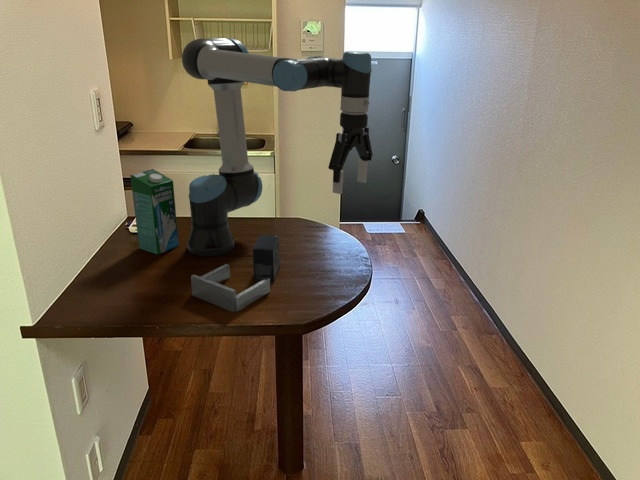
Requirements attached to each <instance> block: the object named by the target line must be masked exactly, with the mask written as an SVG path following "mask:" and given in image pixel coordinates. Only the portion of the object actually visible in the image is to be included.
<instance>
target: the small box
mask: <svg viewBox="0 0 640 480" xmlns="http://www.w3.org/2000/svg"><path fill="white" fill-rule="evenodd" d="M280 259H281V258H280V236H279V235H272V234H271V235H268V234H267V235H265V234H259V235H258V238H257V239H256V242H255V243H254V245H253V247H252V265H253V267H252V268H253V281H254V282H255V281H256V282H260V281H262V280H264V279H266V278H268V279H270V283H273V282H275V281H276V278H277V276H278V273H279V270H280V267H281V262H280Z"/></svg>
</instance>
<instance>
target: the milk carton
mask: <svg viewBox="0 0 640 480" xmlns="http://www.w3.org/2000/svg"><path fill="white" fill-rule="evenodd" d="M129 176H130V184H131V192H132V198H133V199H132V200H133V208H134V216H135V223H136V225H135V226H136V231H137V241H138V249H140V250H144V251H146V252H149V253H151V254H152V253H153V254H155V255H161V254H162V253H165V252H168V251H169V250H172V249H174V248H176V247H179V246H180V244H179V234H178V232H179V230H178V222H177V221H178V219H177V211H176V210H177V209H176V199H175V190H174V189H175V187H174V180H173V179H172V178H170V177H168V176H166V175H164V174H163V173H160V172H159V171H158V170H156V169H154V168H152V169H147V170H144V171H141V172H136V173H132V174H130V175H129Z"/></svg>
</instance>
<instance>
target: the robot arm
mask: <svg viewBox="0 0 640 480" xmlns="http://www.w3.org/2000/svg"><path fill="white" fill-rule="evenodd" d="M181 63H182V67H183V69H184V70H185V71H186V73H187V74H188V75H189V76H190V77H192V78H194V79H196V80H206V81H207V85H208V87H210V88H211V89H212V91H213V96H214V105H215V114H216V122H217V129H218V130H217V131H218V138H219V147H220V155H221V162H222V163H221V164H222V165H221V166H220V167H219V169H218V174H208V175H202V176H198V177H196V178H194V179H193V180H191V182H190V183H189V186H188V189H189V190H188V191H189V193H188V200H189V207H190V208H189V210H190V219H191V228H190V232H189V238H188V240H187V250H188V252H189V253H190V254H192V255H195V256H200V257H216V256H217V257H218V256H223V255H226V254H228V253H230V252H232V251H233V250H234V248H235V239H234V236H233V234H232V231H231V229H230V228H231V227H230V225H229V217H228V216H229V215H228V214H229V213H231V212H234V211H237V210H239V209H241V208H245V207H248V206H250V205H252V204H254V203H255V202H257V201H258V200H259V199H260V197H261V195H262V192H263V181H262V179H261V177H260V175H259V174H258V172H257V171H255V169H254V166H253V165H252V164H251V163H250V162H249V155H248V146H247V138H246V137H247V135H246V126H245V116H244V108H243V99H242V98H243V97H242V90H241V89H242V87H243V85H244V84H245V83H251V84H257V85H262V86H263V85H264V86H270V87H276V88H278V89H279V90H280V91H283V92H297V91H302V90H307V89H315V88H322V87H328V88H337V89H340V91H341V92H340V93H341V94H340V111H341V113H339V114H340V115H339V125H340V127H341V128H343V132H341V133H339V132H337V133H336V136H335V143H334V147H333V150H332V154H331V157H330V159H329V160H330V161H329V164H328V168H327V169H328V170H331V171H332V172H333V173H332V174H333V175H332V194H333V193H334V194H338V195H342V194H343V186H344V185H343V184H344V170H343V167H344V165H345V163H346V160H347V158H348V155H349V153H350V151H352V150H353V149H354V148H355V150H356V152H357V154H358V157H359V159H358V160H357V161H358V163H357V177H356V181H357V182H359V183H364V184H366V183H367V178H368V177H367V176H368V163H369V162H370V161H372V157H373V151H372V144H371V140H370V139H371V138H370V135H369V134H370V128H369V127H368V121H369V120H368V119H369V114H368V113H367V112H368V111H369V105H370V87H371V86H370V85H371V75H372V55H371V54H370V53H369V52H366V51H350V50H349V51H345V52H343V54H342V58H337V57H336V58H335V57H334V58H333V57H327V56H322V55H321V56H320V55H319V56H318V55H317V56H310V57H309V56H308V57H307V58H289V57H279V56H272V55H263V54H256V53H249V51H248V48H247V47H246V46H245V45H244V44H243V43H242V42H241V41H240V40H238V39H236V38H229V37H223V38H221V37H220V38H218V37H217V38H196V39H193V40H191V41H190V42H189V43H187V44H186V45H185V47H184V48H183V51H182V54H181Z"/></svg>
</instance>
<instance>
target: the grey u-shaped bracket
mask: <svg viewBox="0 0 640 480" xmlns="http://www.w3.org/2000/svg"><path fill="white" fill-rule="evenodd" d="M230 273H231V271H230V264H227V263H225V264H224V265H221V266H220V267H217V268H215V269H213V270H211V271H209V272H207V273H205V274H203V275H200V276H199V275H197V274H192V275H191V276H190V283H191V295H192V297H195V298H198V299H200V300H202V301H205V302H207V303H210V304H212V305H214V306H217V307H218V308H219V307H220V308H221V309H224V310H227V311H229V312H232V313H235V312H236V313H238V312H240V311H242V310H243V309H244V308H246V307H248V306H249V305H251V304H253V303H254V302H256V301H258V300H260V299H261V298H262V297H264V296H265V295H268V294H269V293H271V282H270V279H268V278H266V279H264V280H262V281H258V282H256V283H255V284H254V285H251V286H250V287H248V288H246V289H245V290H243V291H241V292H240V293H238V294H237V290H236V289H234V288H231V287H229V286H227V285H223V284H221V283H222V282H224V281H226V280H228V279H229V278H231V274H230Z"/></svg>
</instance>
